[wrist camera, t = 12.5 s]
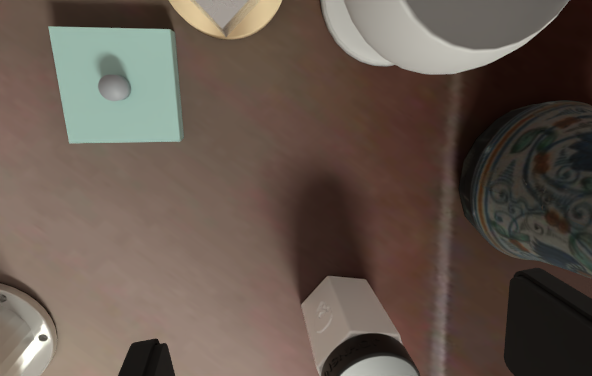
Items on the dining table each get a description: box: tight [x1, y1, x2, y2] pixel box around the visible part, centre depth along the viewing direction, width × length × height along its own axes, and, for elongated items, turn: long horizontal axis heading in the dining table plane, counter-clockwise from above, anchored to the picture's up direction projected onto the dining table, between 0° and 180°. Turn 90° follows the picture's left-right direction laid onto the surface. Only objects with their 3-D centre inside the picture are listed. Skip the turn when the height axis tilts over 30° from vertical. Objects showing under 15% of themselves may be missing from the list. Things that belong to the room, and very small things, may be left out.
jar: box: [301, 276, 420, 376], centre depth 35 cm, size 9×8×12 cm
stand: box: [48, 26, 184, 143], centre depth 29 cm, size 9×9×4 cm
